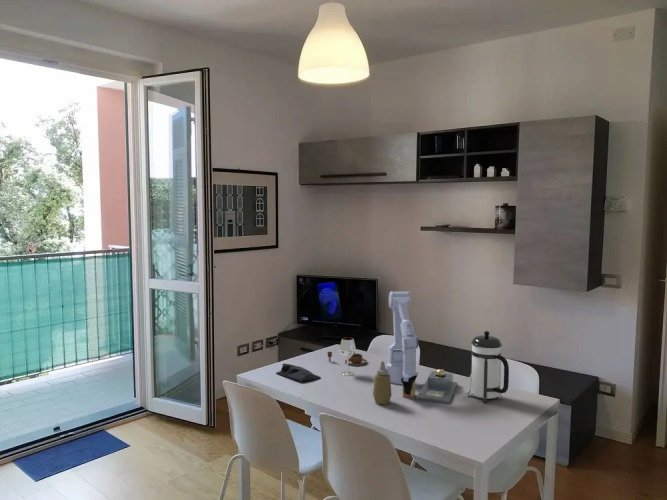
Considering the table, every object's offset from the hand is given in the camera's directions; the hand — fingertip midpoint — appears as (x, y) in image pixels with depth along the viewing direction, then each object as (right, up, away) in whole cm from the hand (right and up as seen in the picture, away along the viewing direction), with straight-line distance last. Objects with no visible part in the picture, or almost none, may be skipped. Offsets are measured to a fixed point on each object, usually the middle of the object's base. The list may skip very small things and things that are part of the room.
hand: (409, 392), depth 223 cm
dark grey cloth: (-51, 0, +27) cm, 58 cm away
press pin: (+17, +4, +13) cm, 21 cm away
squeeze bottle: (-13, -2, -8) cm, 15 cm away
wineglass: (-27, 0, +31) cm, 41 cm away
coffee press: (+34, -2, -3) cm, 35 cm away
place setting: (-25, +1, +51) cm, 57 cm away
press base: (+14, -1, +5) cm, 15 cm away
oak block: (0, -2, 0) cm, 2 cm away
